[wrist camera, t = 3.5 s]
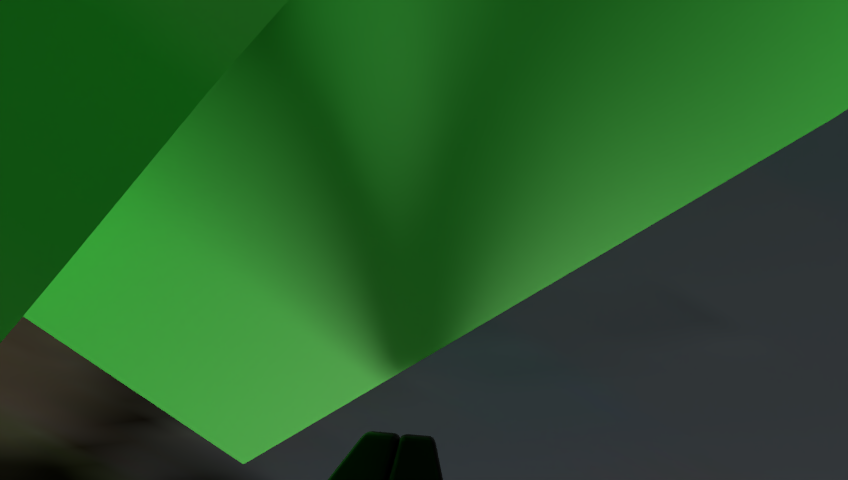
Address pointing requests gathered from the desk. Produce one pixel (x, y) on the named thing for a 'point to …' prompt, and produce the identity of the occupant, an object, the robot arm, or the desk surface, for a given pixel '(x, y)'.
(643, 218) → the mechanical part
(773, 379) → the desk surface
